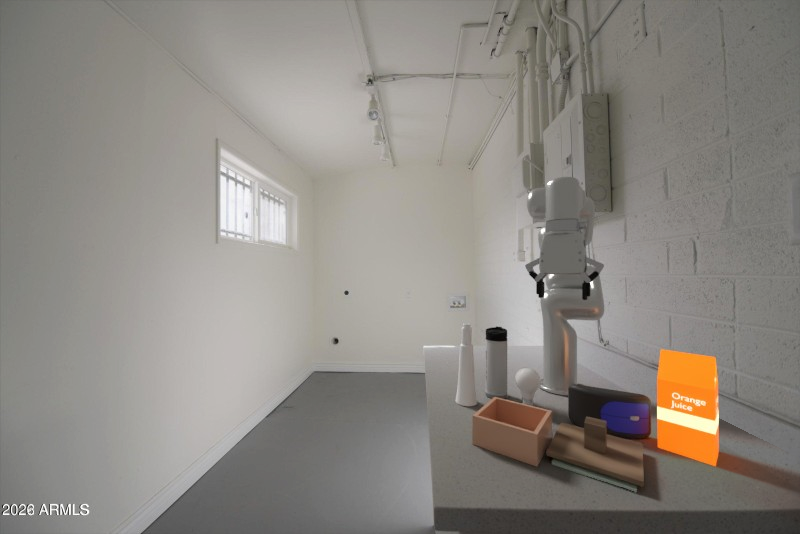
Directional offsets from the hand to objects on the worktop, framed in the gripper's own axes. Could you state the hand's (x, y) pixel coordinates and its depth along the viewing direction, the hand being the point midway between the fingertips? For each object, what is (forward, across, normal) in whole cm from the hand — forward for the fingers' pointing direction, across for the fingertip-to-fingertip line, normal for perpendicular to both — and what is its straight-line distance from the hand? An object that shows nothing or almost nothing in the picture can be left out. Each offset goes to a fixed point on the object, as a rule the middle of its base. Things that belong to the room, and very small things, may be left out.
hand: (562, 298), depth 78 cm
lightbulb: (+31, +9, -3) cm, 32 cm away
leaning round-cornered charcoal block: (+31, -9, -3) cm, 32 cm away
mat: (+30, -8, +12) cm, 34 cm away
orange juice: (+31, -23, -3) cm, 38 cm away
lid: (+30, -8, +12) cm, 33 cm away
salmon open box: (+30, +7, +16) cm, 35 cm away
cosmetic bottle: (+31, +24, +3) cm, 39 cm away
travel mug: (+31, +19, -7) cm, 37 cm away
